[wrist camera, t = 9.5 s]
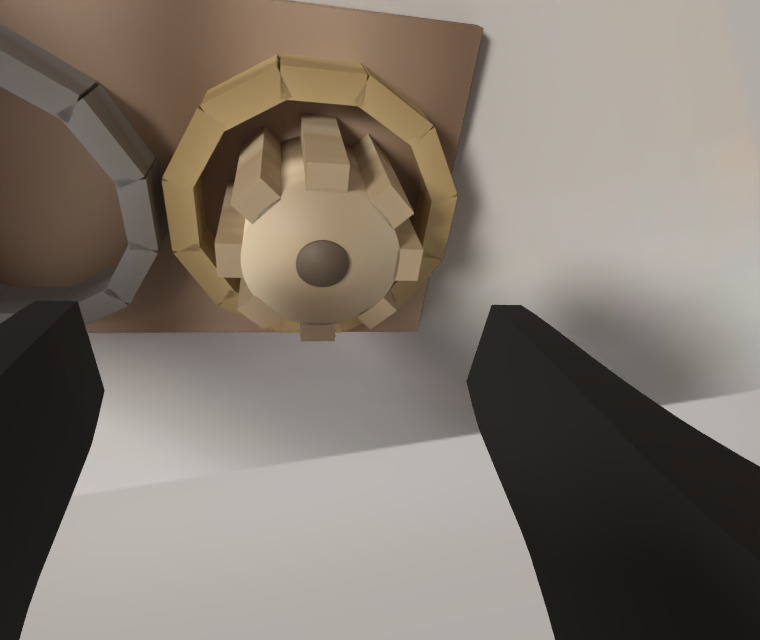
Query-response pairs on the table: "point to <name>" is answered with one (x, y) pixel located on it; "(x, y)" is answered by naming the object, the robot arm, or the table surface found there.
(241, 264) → the gear
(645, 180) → the table surface
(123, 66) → the gear board
